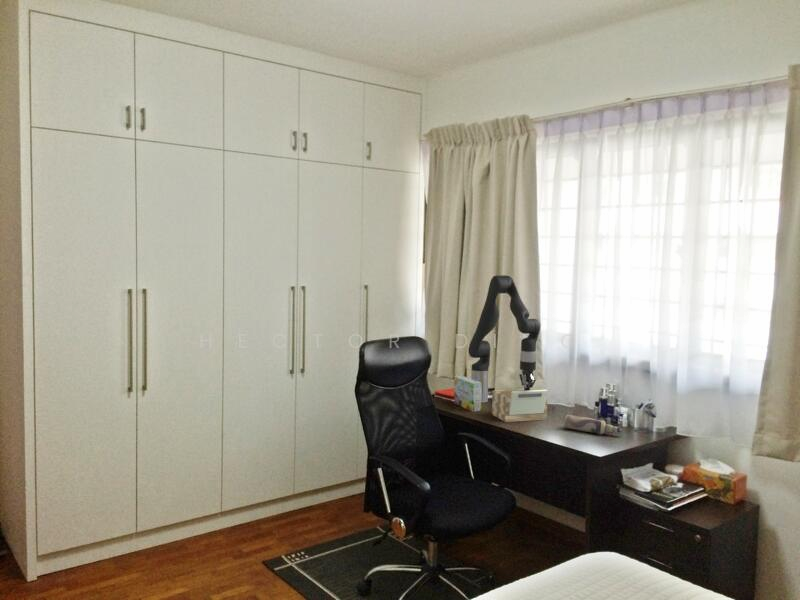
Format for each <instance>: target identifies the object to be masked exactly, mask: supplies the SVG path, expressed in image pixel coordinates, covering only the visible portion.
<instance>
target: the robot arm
mask: <svg viewBox="0 0 800 600" xmlns="http://www.w3.org/2000/svg"><path fill="white" fill-rule="evenodd" d="M499 294H507V295H508V296H509V297H510V302H509V308H510V309H509V310H510V311H511V313H512V315H513V316H514V317H515V321H516V326H517V329H518V331H519V332H520V333H522V334H526V335H527V334H528V336H527V337H524V338H522V339H521V342H520V355H519V370H520V371H521V374H518V375H519V380H520V382H521V386H523V389H524V391H527V390H530V389H533V386H534V385H535V383H536V378H534V371H536V369H537V352H536V351H537V341H538V337H539V335H540V332H541V323H540V321H539V319H537V318H529V317H530V311H529V310H528V308H527V307H526V306H525V304H524V303H523V300H522V297H521V295H520V294H519V291H518V288H517V287H516V284H515V281H514V279H513V278H512V277H511V276H510V275H500V274H499V275H494V276H492V278H491V280H490V282H489V286H488V289H487V293H486V299H485V301H484V305H483V308H482V310H481V314H480V317H479V319H478V323H477V326H476V328H475V332H474V333H473V336H472V338H471V340H470V342H469V345H468V355H469V357H470V358H472V359H473V358H474V359H478V358H479V359H478V361H476V362H474V363H472V364H471V375H470V377H471V378H470V379H472V380H475V381H478V382H481V383H482V394H481V404H482V403H487V402H488V399H489V397H488V396H489V368H490V360H491V359H490V358H491V345H490V342H489V341H488V340H484V339H485V338H486V336H487V335H488V334H489V333H491V332H492V331H493V330H494V329H495V327H496V326H497V323H498V321H499V318H500V310H499V308H498V305H497V298H498V296H499Z"/></svg>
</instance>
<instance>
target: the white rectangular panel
mask: <svg viewBox="0 0 800 600" xmlns="http://www.w3.org/2000/svg"><path fill="white" fill-rule="evenodd" d="M546 397H547V398H548V389H534V390H527V391H512V392H511V398H510V404H509V411H508V414H509V415H519V414H536V413H544V409H545V403H546Z"/></svg>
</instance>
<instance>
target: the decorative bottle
mask: <svg viewBox="0 0 800 600" xmlns="http://www.w3.org/2000/svg"><path fill="white" fill-rule="evenodd" d="M563 425H564V429H566V430H567V429H568V430H574V431H579V432H584V433H585V432H586V433H590V434H597V435H605V434H611V433H614V434H617V433H622V432H623V429H621V428H619V427H618V426H615V425H612V424H608V423H606V421H605V420H602V419H596V418H593V417H592V418H591V417H583V416H580V415H572V414H567V415H565V417H564V421H563Z"/></svg>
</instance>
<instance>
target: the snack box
mask: <svg viewBox="0 0 800 600" xmlns="http://www.w3.org/2000/svg"><path fill="white" fill-rule="evenodd" d="M453 378H454V379H453V380H454V382H453V384H454V385H453V387H454V391H453V393H454V395H453V397H454V401H453V402H454V404H455V405H457V406H460V407H461V408H463V409H465V410H468V411H470V412H471V413H476V412H482V403H481V394H482V383H481V382H478V381H475V380H472V379H471V378H470V377H466V376H464V375H454V377H453Z"/></svg>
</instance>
